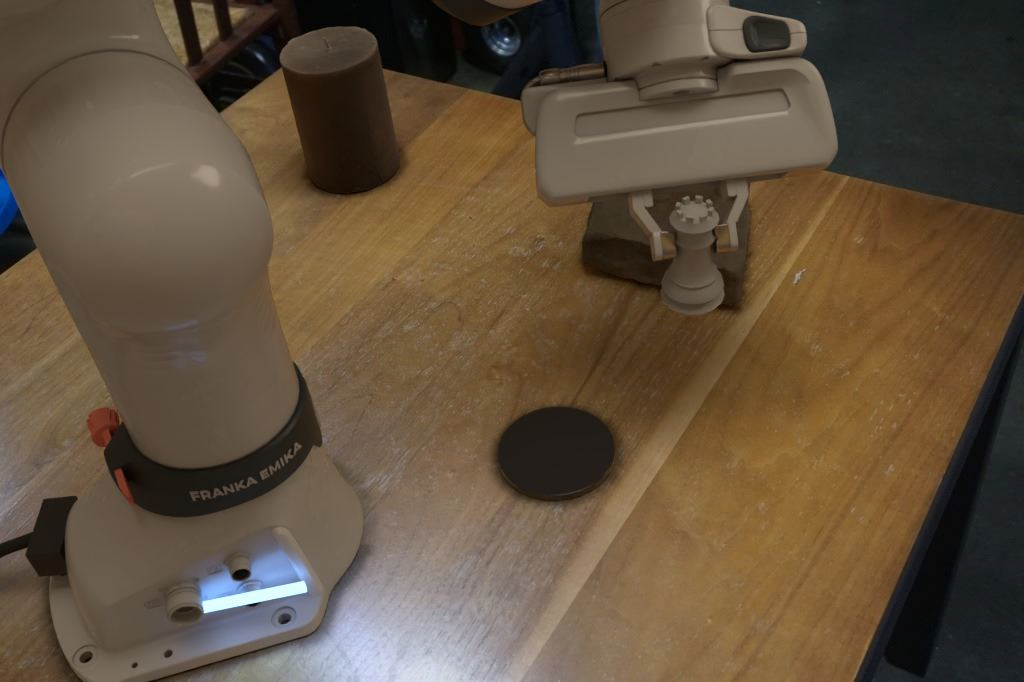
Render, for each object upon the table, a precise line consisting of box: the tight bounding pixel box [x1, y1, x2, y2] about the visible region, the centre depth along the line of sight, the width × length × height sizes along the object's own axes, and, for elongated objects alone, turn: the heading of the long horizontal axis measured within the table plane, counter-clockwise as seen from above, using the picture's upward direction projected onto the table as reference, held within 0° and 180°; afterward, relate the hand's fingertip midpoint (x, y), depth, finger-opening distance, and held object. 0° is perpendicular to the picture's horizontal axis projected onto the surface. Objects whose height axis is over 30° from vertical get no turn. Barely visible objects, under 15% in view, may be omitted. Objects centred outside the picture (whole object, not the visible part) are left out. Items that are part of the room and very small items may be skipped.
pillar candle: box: [279, 26, 401, 194], centre depth 110 cm, size 10×10×15 cm
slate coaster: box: [497, 406, 617, 501], centre depth 84 cm, size 9×9×1 cm
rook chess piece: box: [659, 195, 725, 317], centre depth 75 cm, size 4×4×8 cm
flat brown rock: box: [581, 182, 753, 306], centre depth 100 cm, size 17×15×4 cm
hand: (695, 255), depth 74 cm, fingers closed on rook chess piece, 3 cm apart
